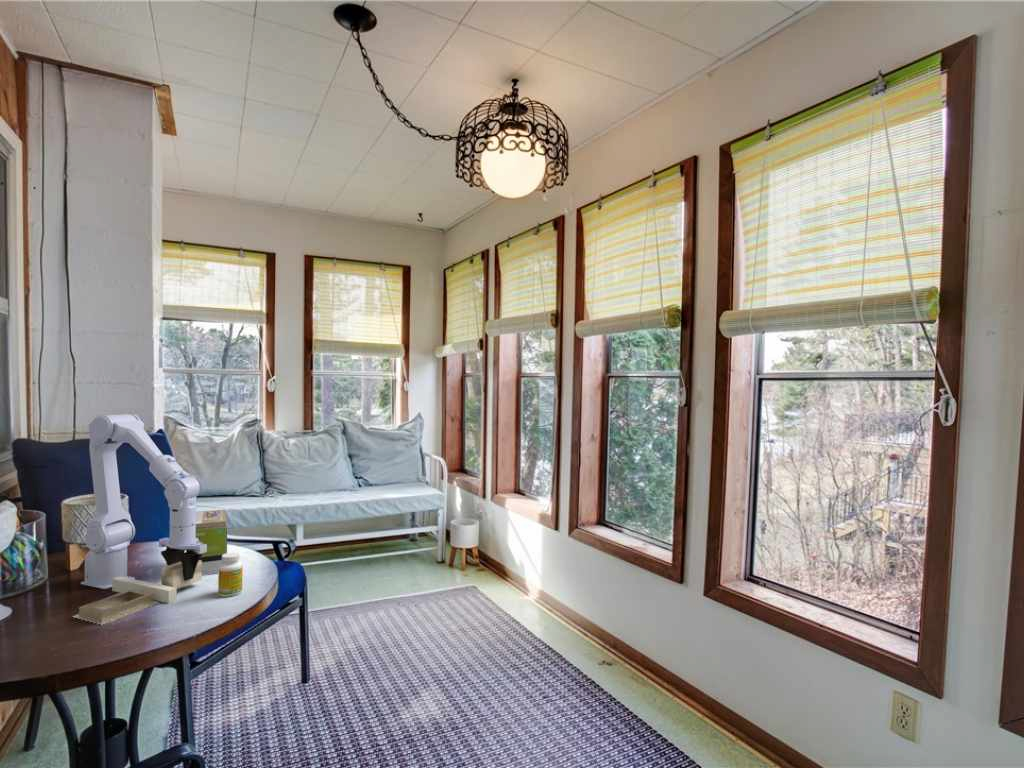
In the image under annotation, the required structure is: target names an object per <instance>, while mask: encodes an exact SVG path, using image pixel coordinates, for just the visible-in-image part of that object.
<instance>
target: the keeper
mask: <svg viewBox="0 0 1024 768" xmlns="http://www.w3.org/2000/svg"><path fill="white" fill-rule="evenodd" d="M158 603H159V604H160V601H156V600H153V594H149V593H145V592H140V591H135V590H128V591H125V592H122V593H120V592H118V593H117V594H113V595H110V596H108V597H105V598H102V599H99V600H96V601H93V602H89V603H87V604H84V605H81V606H79V608H78V609H79V610H78V613H77V614H75V615H73V616H71V617H74V618H73V619H75V618H78V619H77V620H79V619H81V620H80V621H83V620H85V621H84V622H87V621H89V622H88V623H91V622H93V623H92V624H95V623H97V624H96V625H99V624H100V626H104V625H103V624H105V625H106V623H107V624H109V622H110V623H112V622H114V621H117V619H118V620H119V619H122V617H123V618H125V617H128V616H131V615H133V614H135V612H136V613H138V612H140V611H143V610H147V609H149V608H151V607H153V606H156V605H159V604H158ZM148 607H149V608H148ZM127 615H128V616H127Z"/></svg>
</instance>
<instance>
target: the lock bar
mask: <svg viewBox="0 0 1024 768" xmlns="http://www.w3.org/2000/svg"><path fill="white" fill-rule="evenodd" d="M202 576H203V575H202V560H199V561H198V564H197V566H196V569H195V573H194V576H193V578H192V579H190V580H187V581H185V580H184V578H183V567H182V563H181V562H178V563H175V564H172V565H169V566H168V565H166V566H164V567H162V568H161V585H164V586H169V587H174V588H177V589H180V588H183V587H186V586H189V585H191V584H194V583H197V582H199V581H202Z"/></svg>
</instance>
